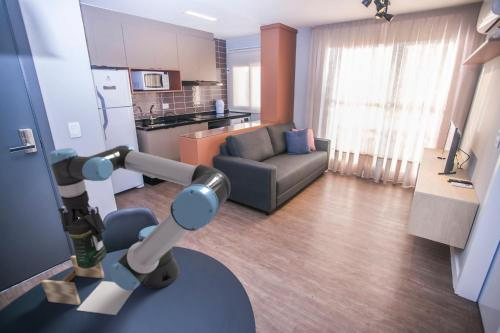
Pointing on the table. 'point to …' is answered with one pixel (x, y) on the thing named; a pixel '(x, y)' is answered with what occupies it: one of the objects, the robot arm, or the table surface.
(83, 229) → the coffee jar
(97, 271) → the shelf bay
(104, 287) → the mat
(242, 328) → the table surface
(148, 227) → the robot arm
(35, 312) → the table surface
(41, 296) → the table surface
